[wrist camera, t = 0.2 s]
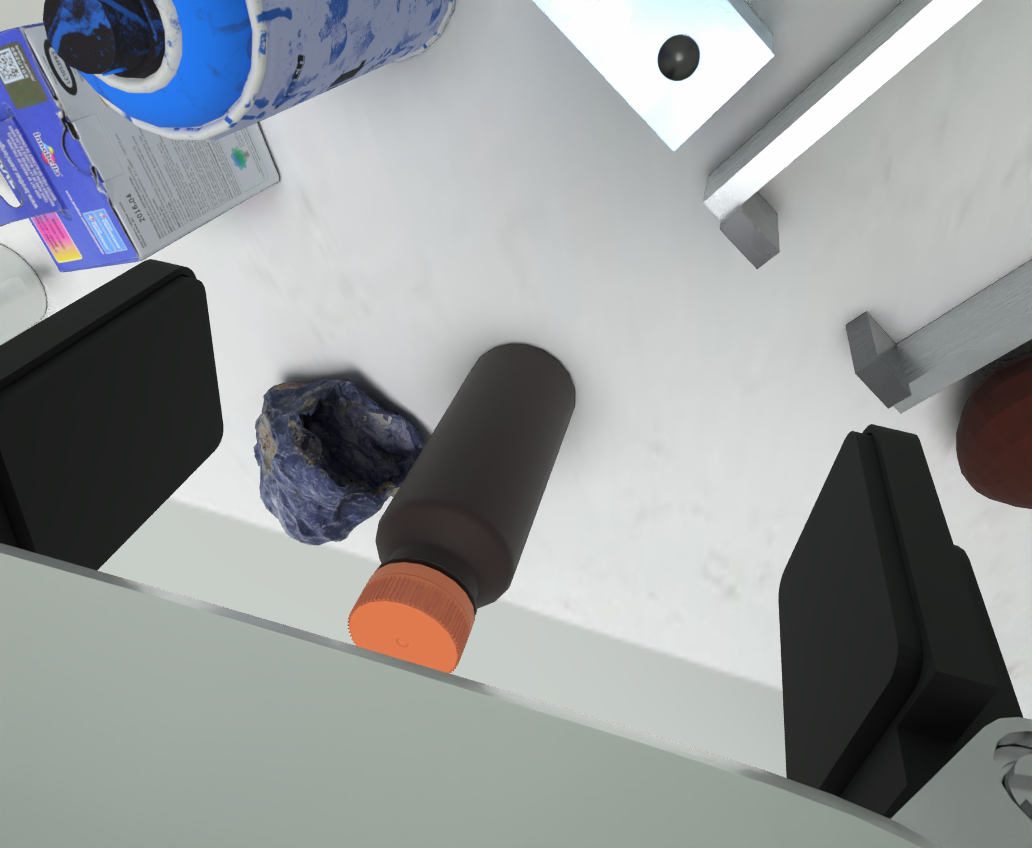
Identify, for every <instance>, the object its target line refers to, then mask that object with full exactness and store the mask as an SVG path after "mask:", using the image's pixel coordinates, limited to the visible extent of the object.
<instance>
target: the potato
mask: <svg viewBox="0 0 1032 848" xmlns="http://www.w3.org/2000/svg"><path fill="white" fill-rule="evenodd" d="M956 451H957V458H958V462H959V466H960V469H961V473H962V474H963V476H964V477H965V478H966V480H967V481H968V482H969V484H970V485H971V486H972V487H973V488H974V489H975V490H976V491H977V492H978V493H980V494H982V495H984V496H986V497H987V498H989V499H992V500H995V501H999V502H1002V503H1006V504H1009V505H1012V506H1015V507H1021V508H1028V509H1032V351H1031V352H1029V353H1027V354H1024V355H1022V356H1020V357H1017V358H1015V359H1013V360H1010V361H1008V362H1005V363H1003V364H1001V365H998V366H996V367H994V368H993V369H992V370H991V371H990V372H989V373H988V374H987V375H986V376H985V378H984V379H983V380H982V381H981V382H980V383H979V384H978V385H977V386H976V387H975V388H974V390H973V392H972V393H971V395H970V397H969V399H968V401H967V403H966V405H965V406H964V409H963V412H962V415H961V419H960V422H959V426H958V429H957V433H956Z"/></svg>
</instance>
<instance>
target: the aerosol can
mask: <svg viewBox="0 0 1032 848" xmlns="http://www.w3.org/2000/svg"><path fill="white" fill-rule="evenodd" d="M455 3H456V0H45V3H44V14H43V22H44V27H45V31H46V36H47V39H48V41H49V42H50V44H51V46H52V47H53V49H54V50H55V52H56V54H57V55H58V56H59V57H60V58H61V59H62V60H64V61H65V62H66V63H67V64H68V65H69V66H70V67H72V68H74V69H76V70H77V71H78V72H79V73H80V74H81V76H82V77H83V78H84V79H85V80H86V82H87V83H88V84H89V85H90V86H91V87H92V88H93V89H94V90H95V91H96V93H97V94H98V95H99V96H100V97H101V98H102V99H103V100H104V101H105V103H106V104H107V105H108V106H109V107H111V108H112V109H114V110H115V111H116V112H118V113H119V114H121V115H122V116H123V117H125V118H126V119H128V120H129V121H131V122H132V123H133V124H135V125H136V126H138V127H139V128H142V129H145V130H147V131H150V132H153V133H156V134H158V135H161V136H164V137H167V138H169V139H173V140H207V139H215V140H218V139H220V138H222V137H225V136H227V135H230V134H232V133H234V132H237V131H239V130H242V129H244V128H246V127H248V126H251V125H253V124H255V123H257V122H259V121H262V120H264V119H266V118H268V117H271V116H273V115H275V114H277V113H279V112H282V111H284V110H286V109H288V108H290V107H293V106H295V105H297V104H299V103H301V102H304V101H306V100H308V99H310V98H313V97H315V96H317V95H319V94H321V93H324V92H326V91H328V90H330V89H332V88H335V87H337V86H339V85H341V84H344V83H346V82H348V81H350V80H352V79H355V78H357V77H359V76H361V75H363V74H366V73H368V72H370V71H372V70H374V69H377V68H379V67H381V66H383V65H386V64H388V63H390V62H401V61H403V60H406V59H408V58H411V57H413V56H415V55H418V54H420V53H422V52H424V51H425V50H427V49H428V48H429V47H430V46H431V45H432V44H433V43H434V42H435V41H436V40H437V39H438V38H439V37H440V36H441V35H442V33H443V32H444V30H445V28H446V26H447V24H448V22H449V20H450V18H451V16H452V14H453V12H454V8H455Z"/></svg>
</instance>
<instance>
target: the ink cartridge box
mask: <svg viewBox="0 0 1032 848" xmlns="http://www.w3.org/2000/svg"><path fill="white" fill-rule="evenodd" d="M0 171H1V173H2V174H3V176H4V178H5V179H6V181H7V183H8V184H9V186H10V188H11V189H12V191H13V193H14V194H15V196H16V198H17V199H18V201H19V203H20V204H21V205H20V206H19V207H17V208H15V207H12V206H11V205H9V204H8V203H7V202H6V201H5V200H4V199H3V197H2V196H1V195H0V226H3V225H6V224H9V223H11V222H15V221H19V220H22V219H26V218H29V220H30V221H31V223H32V225H33V226H34V228H35V229H36V231H37V233H38V235H39V236H40V238H41V240H42V241H43V243H44V245H45V247H46V248H47V250H48V252H49V253H50V255H51V257H52V259H53V260H54V262H55V264H56V265H57V267H58V269H59V271H60V272H71V271H76V270H83V269H90V268H97V267H104V266H111V265H118V264H124V263H131V262H138V261H142V260H144V259H146V258H147V257H149V256H151V255H153V254H154V253H156V252H158V251H159V250H161V249H163V248H164V247H166V246H168V245H170V244H171V243H173V242H175V241H176V240H178V239H180V238H182V237H183V236H185V235H187V234H188V233H190V232H192V231H194V230H195V229H197V228H199V227H201V226H202V225H204V224H206V223H208V222H209V221H211V220H213V219H214V218H216V217H218V216H220V215H221V214H223V213H225V212H226V211H228V210H230V209H231V208H233V207H235V206H236V205H238V204H240V203H242V202H243V201H245V200H247V199H249V198H250V197H252V196H254V195H256V194H257V193H259V192H261V191H263V190H264V189H266V188H268V187H270V186H271V185H273V184H276V183H278V182H279V175H278V173H277V171H276V168H275V166H274V163H273V161H272V158H271V156H270V153H269V151H268V148H267V146H266V143H265V141H264V138H263V136H262V134H261V131H260V129H259V126H258V124H257V123H255V124H253V125H251V126H248V127H246V128H244V129H242V130H239V131H237V132H234V133H232V134H230V135H227V136H225V137H222V138H220V139H218V140H215V139H207V140H173V139H169V138H167V137H164V136H161V135H158V134H156V133H153V132H150V131H147V130H145V129H142V128H139V127H138V126H136V125H135V124H133V123H132V122H131V121H129V120H128V119H126V118H125V117H123V116H122V115H121V114H119V113H118V112H116V111H115V110H114V109H112V108H111V107H109V106H108V105H107V104H106V103H105V101H104V100H103V99H102V98H101V97H100V96H99V95H98V94H97V93H96V91H95V90H94V89H93V88H92V87H91V86H90V85H89V84H88V83H87V82H86V80H85V79H84V78H83V77H82V76H81V74H80V73H79V72H78V71H77V70H76V69H74V68H72V67H70V66H69V65H68V64H67V63H66V62H65V61H64V60H62V59H61V58H60V57H59V56H58V55H57V54H56V52H55V50H54V49H53V47H52V46H51V44H50V42H49V41H48V39H47V36H46V31H45V27H44V22H43V23H37V24H32V25H27V26H22V27H17V28H13V29H9V30H5V31H2V32H0Z"/></svg>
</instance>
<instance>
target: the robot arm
mask: <svg viewBox="0 0 1032 848" xmlns="http://www.w3.org/2000/svg"><path fill="white" fill-rule="evenodd" d="M222 436H223V419H222V412H221V404H220V396H219V389H218V381H217V374H216V366H215V359H214V351H213V344H212V336H211V329H210V321H209V314H208V306H207V299H206V292H205V288H204V285H203V284H202V282H201V281H199V280H197V279H196V276H195V274H194V273H193V271H192V270H191V269H189V268H188V267H184V266H179V265H175V264H171V263H166V262H162V261H157V260H152V259H149V260H146V261H144V262H142V263H140V264H139V265H137V266H135V267H133V268H132V269H130V270H128V271H127V272H125V273H123V274H121V275H120V276H118V277H116V278H115V279H113V280H111V281H109V282H108V283H106V284H104V285H103V286H101V287H99V288H97V289H96V290H94V291H92V292H91V293H89V294H87V295H86V296H84V297H82V298H80V299H79V300H77V301H75V302H74V303H72V304H70V305H68V306H67V307H65V308H63V309H62V310H60V311H58V312H56V313H55V314H53V315H51V316H50V317H48V318H46V319H44V320H43V321H41V322H39V323H38V324H36V325H34V326H33V327H31V328H29V329H27V330H26V331H24V332H22V333H21V334H19V335H17V336H15V337H14V338H12V339H10V340H9V341H7V342H5V343H3V344H2V345H0V848H1032V720H1031V719H1026V718H1023V715H1022V712H1021V710H1020V707H1019V704H1018V701H1017V698H1016V695H1015V692H1014V689H1013V686H1012V683H1011V680H1010V677H1009V674H1008V671H1007V669H1006V666H1005V663H1004V660H1003V657H1002V654H1001V651H1000V648H999V645H998V642H997V639H996V636H995V633H994V630H993V628H992V625H991V622H990V619H989V616H988V613H987V610H986V607H985V604H984V601H983V598H982V595H981V592H980V589H979V587H978V584H977V581H976V578H975V575H974V572H973V569H972V566H971V563H970V560H969V558H968V556H967V554H966V552H965V551H964V550H963V549H962V548H960V547H959V546H956V545H954V544H953V541H952V538H951V535H950V532H949V529H948V526H947V523H946V520H945V517H944V514H943V511H942V508H941V504H940V501H939V498H938V495H937V492H936V489H935V486H934V483H933V480H932V477H931V474H930V471H929V467H928V464H927V461H926V458H925V455H924V452H923V449H922V446H921V443H920V440H919V438H918V436H917V435H915V434H912V433H907V432H903V431H899V430H894V429H890V428H886V427H881V426H877V425H872V424H871V425H869V426H867V428H866V429H865V430H864V431H863V433H859V432H854V431H851V432H850V433H849V434H848V435H847V437H846V438H845V440H844V442H843V444H842V447H841V449H840V451H839V453H838V455H837V457H836V460H835V462H834V464H833V466H832V468H831V470H830V473H829V475H828V477H827V479H826V481H825V483H824V486H823V488H822V490H821V492H820V494H819V496H818V499H817V501H816V503H815V505H814V507H813V509H812V511H811V514H810V516H809V518H808V520H807V522H806V524H805V527H804V529H803V531H802V533H801V535H800V537H799V540H798V542H797V544H796V546H795V548H794V550H793V553H792V555H791V557H790V559H789V561H788V563H787V566H786V568H785V570H784V572H783V575H782V578H781V582H780V587H779V620H780V642H781V663H782V685H783V707H784V728H785V751H786V772H787V778H784V777H782V776H779V775H776V774H773V773H771V772H768V771H765V770H762V769H759V768H756V767H752V766H750V765H746V764H743V763H740V762H737V761H734V760H731V759H727V758H724V757H721V756H718V755H715V754H712V753H708V752H705V751H702V750H698V749H696V748H693V747H689V746H686V745H683V744H680V743H677V742H673V741H670V740H667V739H664V738H661V737H658V736H654V735H651V734H648V733H645V732H642V731H638V730H635V729H632V728H629V727H626V726H623V725H620V724H616V723H613V722H609V721H606V720H603V719H599V718H596V717H593V716H589V715H586V714H583V713H579V712H576V711H573V710H569V709H566V708H562V707H559V706H556V705H553V704H549V703H546V702H543V701H539V700H536V699H532V698H529V697H526V696H523V695H519V694H516V693H513V692H509V691H506V690H502V689H499V688H496V687H492V686H489V685H486V684H482V683H479V682H476V681H472V680H469V679H466V678H462V677H459V676H456V675H452V674H449V673H446V672H442V671H439V670H436V669H432V668H429V667H426V666H422V665H419V664H416V663H412V662H409V661H405V660H402V659H398V658H395V657H392V656H388V655H385V654H381V653H378V652H375V651H371V650H368V649H364V648H361V647H358V646H354V645H351V644H347V643H344V642H341V641H337V640H333V639H330V638H327V637H323V636H320V635H316V634H313V633H309V632H307V631H303V630H300V629H296V628H293V627H289V626H286V625H282V624H279V623H276V622H272V621H269V620H266V619H262V618H259V617H255V616H252V615H248V614H245V613H242V612H238V611H235V610H231V609H228V608H224V607H221V606H218V605H214V604H211V603H207V602H204V601H200V600H197V599H194V598H190V597H187V596H183V595H180V594H176V593H173V592H169V591H166V590H162V589H159V588H155V587H152V586H148V585H145V584H142V583H138V582H135V581H131V580H128V579H124V578H120V577H117V576H113V575H110V574H107V573H103V572H100V571H97V570H98V569H99V568H100V567H101V566H102V565H103V564H104V563H105V562H106V561H107V560H108V559H109V558H110V557H111V556H112V555H113V554H114V553H115V552H116V551H117V550H118V549H119V548H120V547H121V546H122V545H123V544H124V543H125V542H126V541H127V539H129V538H130V536H131V535H132V534H134V532H135V531H136V530H137V529H138V528H139V527H140V526H141V525H142V524H143V523H144V522H145V521H146V520H147V519H148V518H149V517H150V516H151V515H152V514H153V513H154V512H155V511H156V510H157V509H158V508H159V507H160V506H161V505H162V504H163V503H164V502H165V501H166V500H167V499H168V498H169V497H170V496H171V495H172V494H173V493H174V492H175V491H176V490H177V489H178V488H179V487H180V486H181V485H182V484H183V483H184V482H185V481H186V480H187V478H188V477H189V476H190V475H191V474H192V473H193V472H194V471H195V470H196V469H197V468H198V467H199V466H200V465H201V464H202V463H203V462H204V461H205V460H206V459H207V458H208V457H209V456H210V455H211V454H212V453H213V452H214V451H215V450H216V449H217V447H218V446H219V444H220V442H221V439H222Z"/></svg>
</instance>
